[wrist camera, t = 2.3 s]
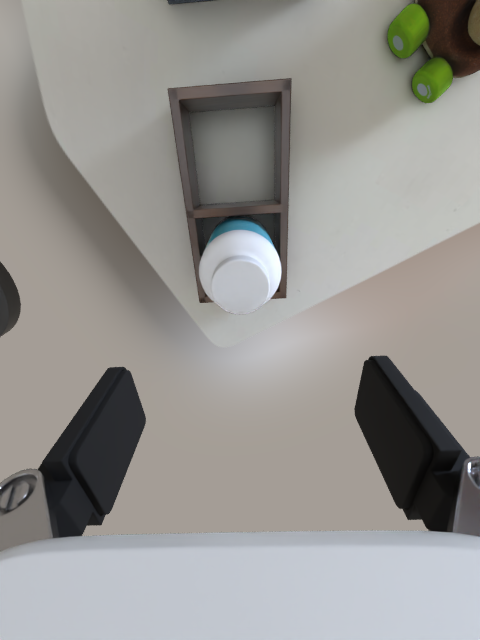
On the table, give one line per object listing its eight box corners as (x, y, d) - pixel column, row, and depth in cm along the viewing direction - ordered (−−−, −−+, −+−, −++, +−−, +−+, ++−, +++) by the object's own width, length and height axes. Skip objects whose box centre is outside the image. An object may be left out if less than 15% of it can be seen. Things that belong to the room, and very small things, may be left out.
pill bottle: (202, 221, 31) (179, 250, 19) (264, 207, 30) (280, 228, 18) (218, 280, 35) (207, 336, 23) (274, 269, 34) (293, 320, 22)
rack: (204, 287, 35) (199, 303, 31) (179, 103, 26) (167, 88, 21) (280, 282, 35) (286, 298, 30) (282, 94, 25) (291, 77, 21)
